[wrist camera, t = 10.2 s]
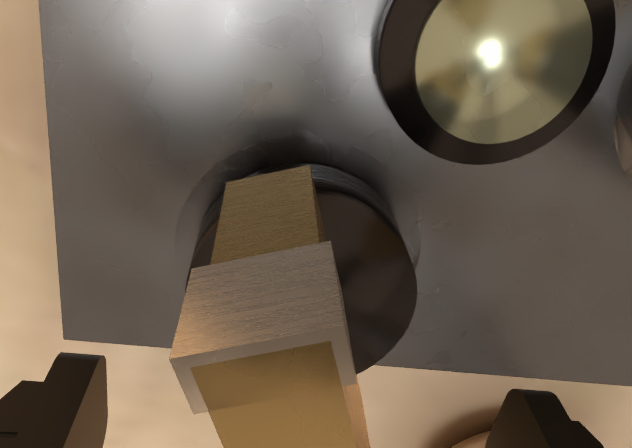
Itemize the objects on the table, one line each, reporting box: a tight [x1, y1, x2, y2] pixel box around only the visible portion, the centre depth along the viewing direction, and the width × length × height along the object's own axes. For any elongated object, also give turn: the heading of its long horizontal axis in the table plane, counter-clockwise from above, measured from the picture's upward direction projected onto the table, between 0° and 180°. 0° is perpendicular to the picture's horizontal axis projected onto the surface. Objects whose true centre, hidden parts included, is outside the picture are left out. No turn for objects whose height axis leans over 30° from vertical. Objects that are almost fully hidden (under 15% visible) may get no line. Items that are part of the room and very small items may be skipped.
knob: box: [169, 163, 417, 448], centre depth 12 cm, size 7×6×8 cm
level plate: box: [39, 0, 632, 386], centre depth 13 cm, size 20×20×3 cm
